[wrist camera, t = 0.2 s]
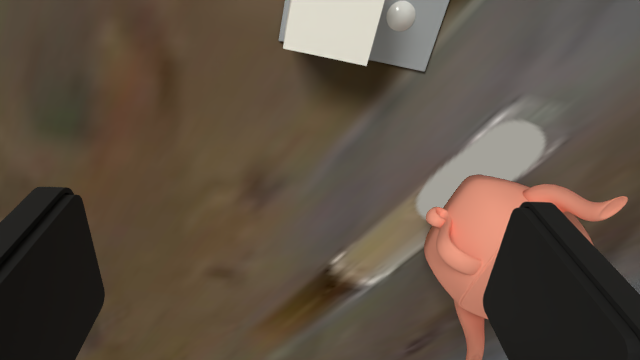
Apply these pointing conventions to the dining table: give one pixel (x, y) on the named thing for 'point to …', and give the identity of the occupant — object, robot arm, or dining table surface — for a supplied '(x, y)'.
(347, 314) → the dining table surface
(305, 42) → the white cube
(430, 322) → the dining table surface
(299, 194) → the dining table surface
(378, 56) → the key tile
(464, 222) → the teapot
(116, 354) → the dining table surface
